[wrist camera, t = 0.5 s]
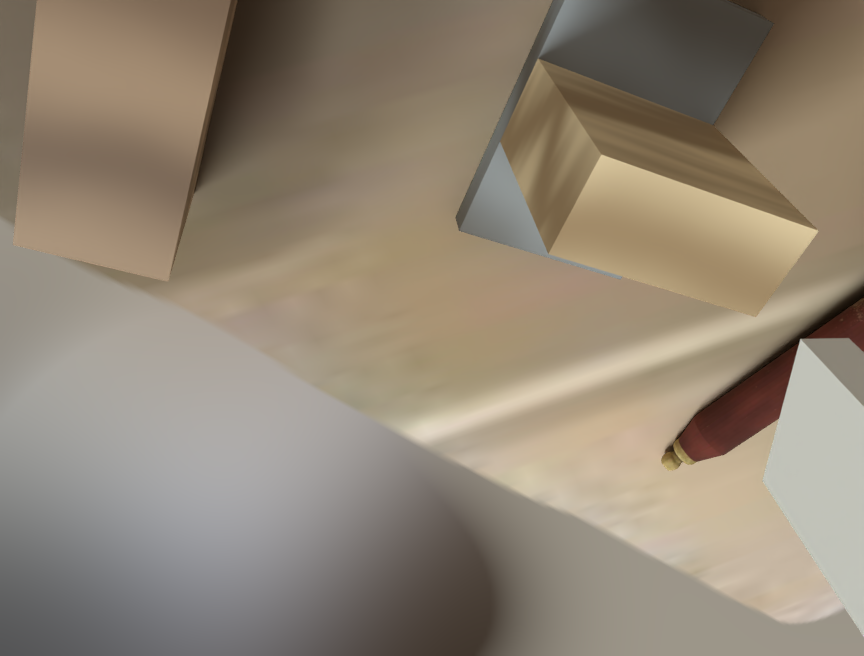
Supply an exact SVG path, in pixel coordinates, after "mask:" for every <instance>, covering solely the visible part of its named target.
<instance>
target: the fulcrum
mask: <svg viewBox="0 0 864 656" xmlns="http://www.w3.org/2000/svg"><path fill="white" fill-rule="evenodd" d="M773 25H774V23H772V22H771V21H769V20H767V19H766V18H764V17H763V16H761V15H759V14H757V13H755V12H752V11H750V10H748V9H746V8H743V7H741V6H739V5H736V4H734V3H732V2H730V1H727V0H553V2H552V4H551V6H550V9H549V11H548V13H547V15H546V18H545V20H544V22H543V24H542V26H541V29H540V31H539V33H538V35H537V38H536V40H535V42H534V44H533V46H532V49H531V51H530V53H529V55H528V58H527V60H526V62H525V64H524V66H523V69H522V71H521V73H520V75H519V78H518V80H517V82H516V84H515V86H514V89H513V91H512V93H511V95H510V98H509V100H508V102H507V104H506V107H505V109H504V111H503V113H502V115H501V118H500V120H499V122H498V124H497V127H496V129H495V131H494V133H493V135H492V138H491V140H490V142H489V144H488V147H487V149H486V151H485V153H484V155H483V158H482V160H481V162H480V164H479V167H478V169H477V171H476V173H475V175H474V178H473V180H472V182H471V184H470V187H469V189H468V191H467V193H466V195H465V198H464V200H463V202H462V204H461V207H460V209H459V211H458V213H457V215H456V221H457V225H458V228H459V231H461V232H465V233H468V234H471V235H475V236H478V237H481V238H485V239H488V240H491V241H494V242H498V243H501V244H504V245H508V246H511V247H514V248H518V249H521V250H524V251H528V252H531V253H534V254H538V255H541V256H544V257H548V258H551V259H554V260H557V261H561V262H564V263H567V264H571V265H574V266H577V267H581V268H584V269H587V270H591V271H594V272H597V273H601V274H604V275H607V276H610V277H614V278H617V279H620V280H621V278H622V277H626V278H629V279H632V280H636V281H639V282H642V283H646V284H649V285H652V286H655V287H659V288H662V289H665V290H669V291H672V292H675V293H678V294H682V295H685V296H688V297H692V298H695V299H698V300H702V301H705V302H708V303H711V304H715V305H718V306H721V307H725V308H728V309H731V310H735V311H738V312H741V313H744V314H748V315H751V316H754V317H756V316H757V315H758V314H759V312H760V311H761V309H762V308H763V307H764V305H765V304H766V303H767V301H768V300H769V298H770V297H771V296H772V294H773V293H774V292H775V290H776V289H777V287H778V286H779V285H780V283H781V282H782V280H783V279H784V278H785V276H786V275H787V274H788V272H789V271H790V269H791V268H792V267H793V265H794V264H795V263H796V261H797V260H798V258H799V257H800V256H801V254H802V253H803V252H804V250H805V249H806V247H807V246H808V245H809V243H810V242H811V241H812V239H813V238H814V236H815V235H816V234H817V232H818V230H817V229H816V228H815V227H814V226H813V225H812V224H811V223H810V222H809V221H808V220H807V219H806V218H805V217H804V216H803V215H802V214H801V213H800V212H799V211H798V210H797V209H796V208H795V207H794V206H793V205H792V204H791V203H790V202H789V201H788V200H787V199H786V198H785V197H784V196H783V195H782V194H781V193H780V192H779V191H778V190H777V189H776V188H775V187H774V186H773V185H772V184H771V183H770V182H769V181H768V180H767V179H766V178H765V177H764V176H763V175H762V174H761V173H760V172H759V171H758V170H757V169H756V168H755V167H754V166H753V165H752V164H751V163H750V162H749V161H748V160H747V159H746V158H745V157H744V156H743V155H742V154H741V153H740V152H739V151H738V150H737V149H736V148H735V147H734V146H733V145H732V144H731V143H730V142H729V141H728V140H727V139H726V138H725V137H724V136H723V135H722V134H721V133H720V132H719V131H718V130H717V129H716V128H715V127H714V126H713V125H714V123H715V121H716V120H717V118H718V116H719V115H720V113H721V111H722V110H723V108H724V106H725V105H726V103H727V101H728V100H729V98H730V96H731V95H732V93H733V91H734V90H735V88H736V86H737V85H738V83H739V81H740V80H741V78H742V76H743V75H744V73H745V71H746V70H747V68H748V66H749V65H750V63H751V61H752V60H753V58H754V56H755V55H756V53H757V51H758V50H759V48H760V46H761V45H762V43H763V41H764V40H765V38H766V36H767V35H768V33H769V31H770V30H771V28H772V26H773Z"/></svg>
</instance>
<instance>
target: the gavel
mask: <svg viewBox="0 0 864 656" xmlns="http://www.w3.org/2000/svg"><path fill="white" fill-rule="evenodd" d="M823 338H849V339H850V340H851V341H852V342H853V343H854V344H855V345H857V346H858V347H859V348H860V349H861V350H862V351H863V352H864V297H863V298H862V299H860V300H859V301H857V302H856V303H855V304H853V305H852V306H850V307H849V308H847V309H846V310H845V311H843V312H842V313H840V314H839V315H837V316H836V317H835V318H833V319H832V320H830V321H829V322H828V323H826V324H825V325H823V326H822V327H820V328H819V329H818V330H816V331H815V332H813V333H812V334H810V335H809V336H808V337H806V338H805V339H823ZM798 346H799V343H798V344H796V345H795V346H793V347H792V348H790V349H789V350H788V351H786V352H785V353H783V354H782V355H781V356H779V357H778V358H776V359H775V360H773V361H772V362H771V363H769V364H768V365H766V366H765V367H763V368H762V369H761V370H759V371H758V372H756V373H755V374H753V375H752V376H751V377H749V378H748V379H746V380H745V381H744V382H742V383H741V384H739V385H738V386H736V387H735V388H734V389H732V390H731V391H729V392H728V393H726V394H725V395H724V396H722V397H721V398H719V399H718V400H716V401H715V402H714V403H712V404H711V405H709V406H708V407H707V408H705V409H704V410H702V411H701V412H700V413H698V414H697V415H695V416H694V418H693V419H692V420H691V422H690V423H689V425H688V426H687V427H686V429H685V430H684V432H683V433H682V435H681V436H680V437H679V438H678V439H677V440H675V442H674V444H673V447H674V451H672V452H668V453H666V454H664V456H663V457H662V459H661V461H662V464H663V465H664V467H665V468H666V469H667V470H669V471H670V470H675V469H677V468H678V467H679V466H680V464H681V463H682V462H684V463H686V464H688V465H692V464H694V463H696V462H697V461H701V460H705V459H709V458H713V457H717V456H721V455H724V454H726V453H727V452H729V451H730V450H732V449H734V448H735V447H737V446H738V445H740V444H741V443H743V442H744V441H746V440H747V439H749V438H750V437H752V436H753V435H755V434H756V433H758V432H759V431H761V430H762V429H764V428H765V427H767V426H768V425H770V424H771V423H773V422H774V421H776V420H777V419H779V417H780V414H781V410H782V406H783V402H784V399H785V395H786V391H787V387H788V384H789V380H790V376H791V372H792V369H793V365H794V361H795V357H796V354H797V350H798Z"/></svg>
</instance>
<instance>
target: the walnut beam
mask: <svg viewBox="0 0 864 656" xmlns="http://www.w3.org/2000/svg"><path fill="white" fill-rule="evenodd" d="M237 1H238V0H37V4H36V14H35V24H34V34H33V45H32V55H31V65H30V75H29V86H28V96H27V106H26V116H25V127H24V137H23V147H22V157H21V168H20V178H19V188H18V198H17V208H16V219H15V229H14V239H13V245H16V246H20V247H24V248H28V249H32V250H36V251H41V252H45V253H49V254H53V255H58V256H62V257H66V258H70V259H74V260H79V261H83V262H87V263H91V264H96V265H100V266H104V267H108V268H112V269H117V270H121V271H125V272H129V273H134V274H138V275H142V276H146V277H150V278H155V279H159V280H163V281H167V282H168V281H169V277H170V274H171V270H172V267H173V264H174V260H175V257H176V253H177V250H178V246H179V243H180V239H181V236H182V233H183V229H184V226H185V222H186V219H187V215H188V212H189V208H190V205H191V202H192V198H193V195H194V191H195V186H196V182H197V177H198V173H199V168H200V164H201V160H202V155H203V151H204V146H205V142H206V138H207V133H208V129H209V124H210V120H211V116H212V111H213V107H214V102H215V98H216V93H217V89H218V85H219V80H220V76H221V71H222V67H223V63H224V58H225V54H226V49H227V45H228V41H229V36H230V32H231V27H232V23H233V19H234V14H235V10H236V5H237Z"/></svg>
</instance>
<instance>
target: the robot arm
mask: <svg viewBox="0 0 864 656" xmlns="http://www.w3.org/2000/svg"><path fill="white" fill-rule="evenodd" d="M763 482H764V484H765V485H766V487H767V489H768V490H769V492H770V493H771V495H772V496H773V498H774V499H775V501H776V502H777V504H778V506H779V507H780V509H781V510H782V512H783V513H784V515H785V516H786V518H787V519H788V521H789V522H790V524H791V526H792V527H793V529H794V530H795V532H796V533H797V535H798V536H799V538H800V539H801V541H802V542H803V544H804V546H805V547H806V549H807V550H808V552H809V553H810V555H811V556H812V558H813V559H814V561H815V563H816V564H817V566H818V567H819V569H820V570H821V572H822V573H823V575H824V576H825V578H826V579H827V581H828V583H829V584H830V586H831V587H832V589H833V590H834V592H835V593H836V595H837V596H838V598H839V600H840V601H841V603H842V604H843V606H844V607H845V609H846V610H847V612H848V613H849V615H850V616H851V618H852V619H853V621H854V622H855V624H856V626H857V627H858V629H859V630H860V631H861V633H862V635H863V636H864V352H863V351H862V350H861V349H860V348H859V347H858V346H857V345H855V344H854V343H853V342H852V341H851V340H850V339H849V338H823V339H800V342H799V346H798V350H797V354H796V357H795V361H794V365H793V369H792V372H791V376H790V380H789V384H788V387H787V391H786V395H785V399H784V402H783V406H782V410H781V414H780V417H779V421H778V425H777V429H776V432H775V436H774V440H773V444H772V447H771V451H770V455H769V458H768V462H767V466H766V470H765V473H764V477H763Z"/></svg>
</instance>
